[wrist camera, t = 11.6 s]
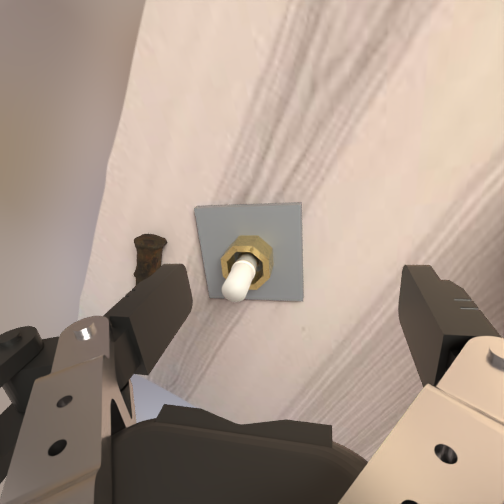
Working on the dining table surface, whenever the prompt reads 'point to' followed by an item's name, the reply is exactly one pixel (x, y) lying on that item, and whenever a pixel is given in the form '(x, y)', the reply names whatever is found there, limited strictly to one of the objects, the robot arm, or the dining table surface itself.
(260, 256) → the ring
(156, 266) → the hand tool
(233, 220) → the post base
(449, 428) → the robot arm
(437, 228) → the dining table surface
